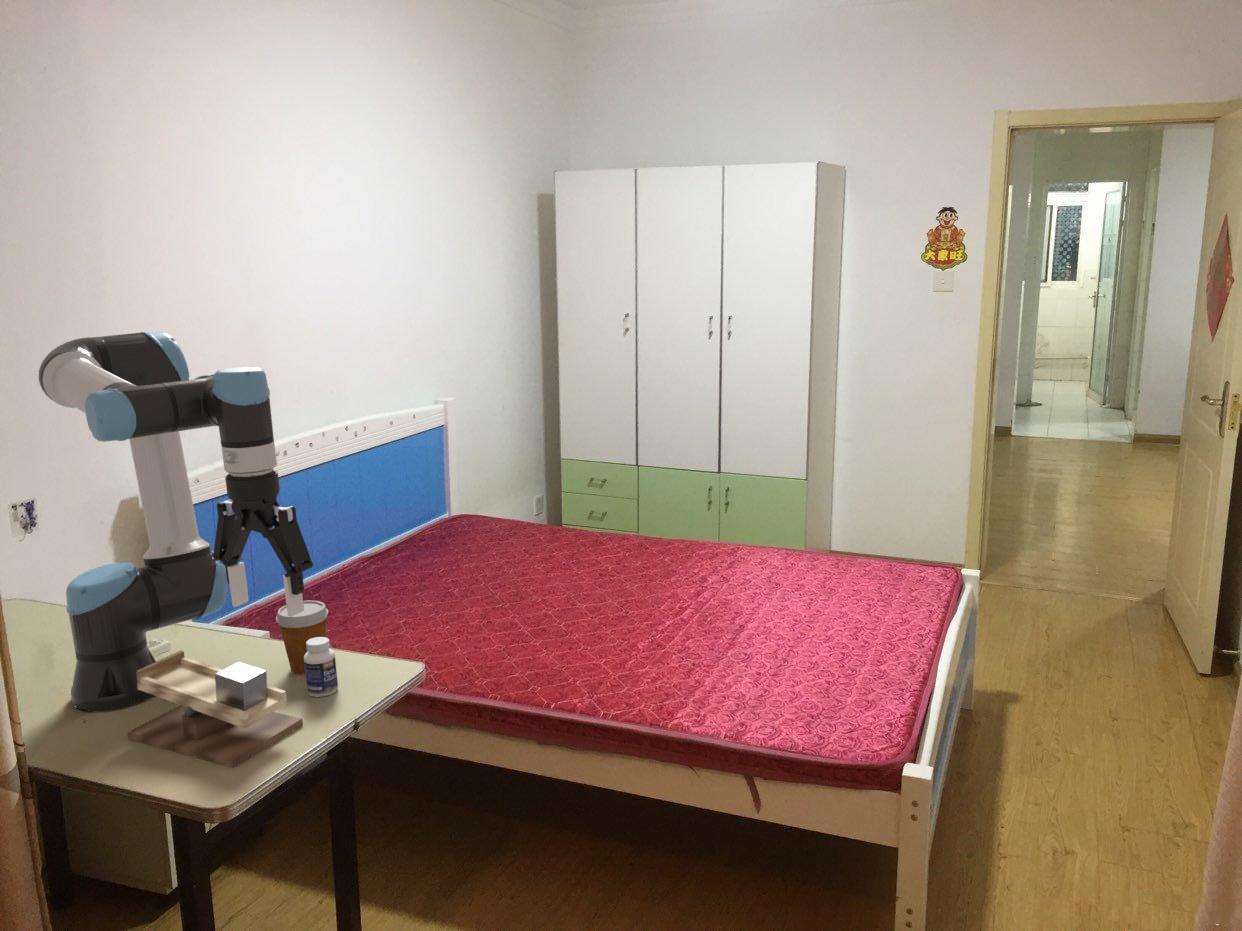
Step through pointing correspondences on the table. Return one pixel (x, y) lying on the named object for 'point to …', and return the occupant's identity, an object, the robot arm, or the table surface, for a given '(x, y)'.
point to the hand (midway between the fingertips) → (267, 608)
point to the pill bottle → (320, 668)
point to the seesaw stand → (213, 735)
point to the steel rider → (241, 686)
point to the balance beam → (200, 690)
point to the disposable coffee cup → (301, 631)
